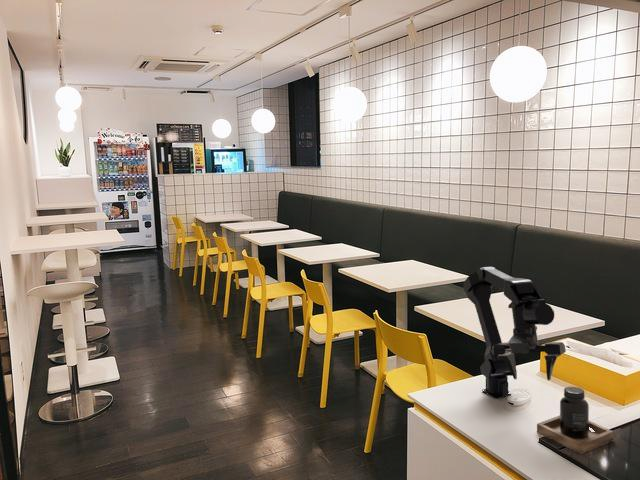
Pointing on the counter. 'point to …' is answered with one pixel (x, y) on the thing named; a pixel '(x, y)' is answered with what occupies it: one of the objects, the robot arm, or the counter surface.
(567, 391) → the supplement bottle
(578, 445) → the walnut tray
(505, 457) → the counter surface
